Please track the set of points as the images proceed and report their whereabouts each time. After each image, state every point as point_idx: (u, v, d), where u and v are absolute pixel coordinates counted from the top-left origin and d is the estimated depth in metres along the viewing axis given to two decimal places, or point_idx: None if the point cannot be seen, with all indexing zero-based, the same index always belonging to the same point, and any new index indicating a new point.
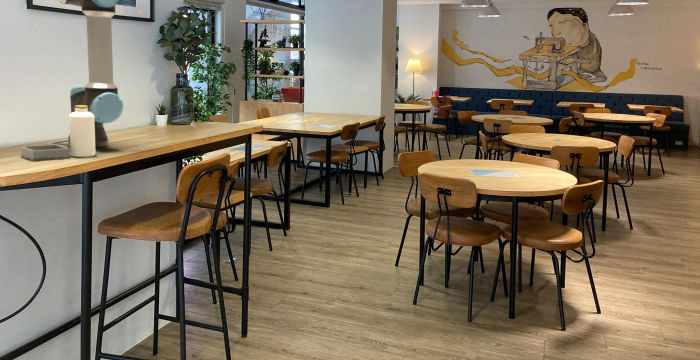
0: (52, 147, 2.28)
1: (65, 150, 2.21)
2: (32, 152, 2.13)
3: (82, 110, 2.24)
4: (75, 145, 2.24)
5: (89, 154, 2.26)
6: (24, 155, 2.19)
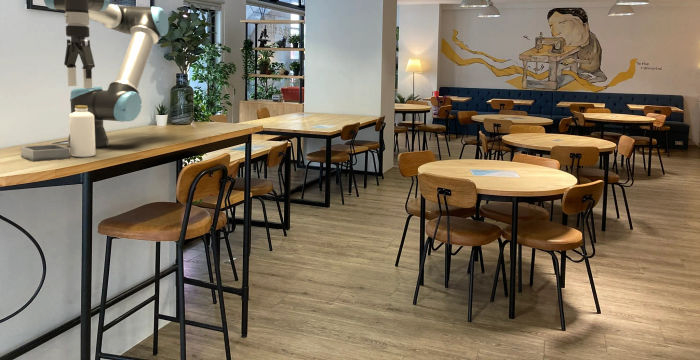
0: (52, 147, 2.28)
1: (65, 150, 2.21)
2: (32, 152, 2.13)
3: (82, 110, 2.24)
4: (75, 145, 2.24)
5: (89, 154, 2.26)
6: (24, 155, 2.19)
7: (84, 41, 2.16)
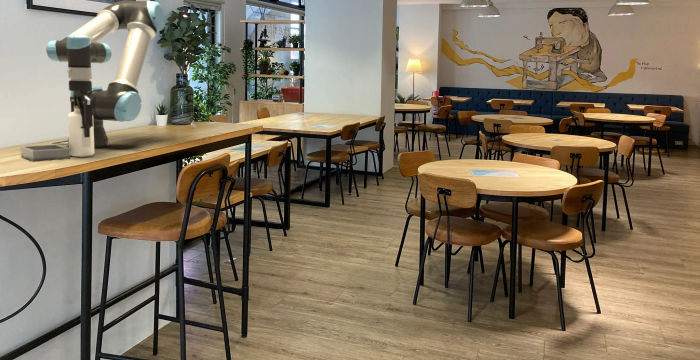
0: (52, 147, 2.28)
1: (65, 150, 2.21)
2: (32, 152, 2.13)
3: None
4: (74, 145, 2.24)
5: (88, 154, 2.26)
6: (24, 155, 2.19)
7: (87, 101, 2.19)
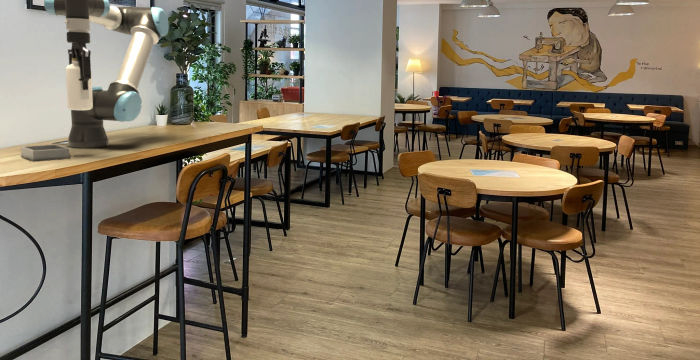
0: (52, 147, 2.28)
1: (65, 150, 2.21)
2: (32, 152, 2.13)
3: None
4: (72, 98, 2.21)
5: (86, 107, 2.24)
6: (24, 155, 2.19)
7: (85, 52, 2.17)
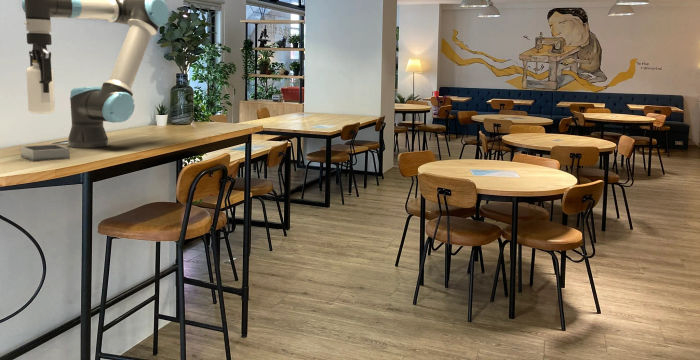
0: (52, 147, 2.28)
1: (65, 150, 2.21)
2: (32, 152, 2.13)
3: None
4: (32, 101, 2.15)
5: (47, 110, 2.17)
6: (24, 155, 2.19)
7: (45, 54, 2.10)
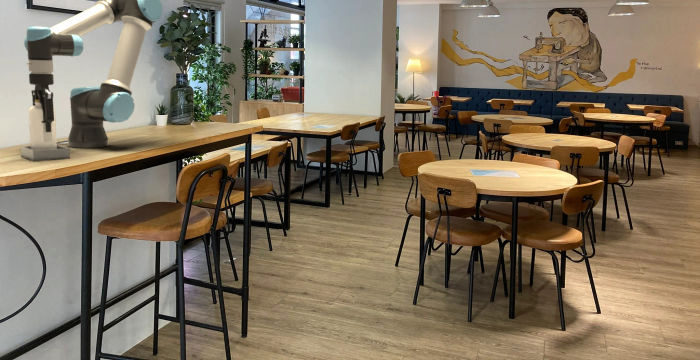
0: None
1: (65, 150, 2.21)
2: (32, 152, 2.13)
3: None
4: (35, 140, 2.18)
5: (50, 149, 2.20)
6: (24, 155, 2.19)
7: (47, 94, 2.13)
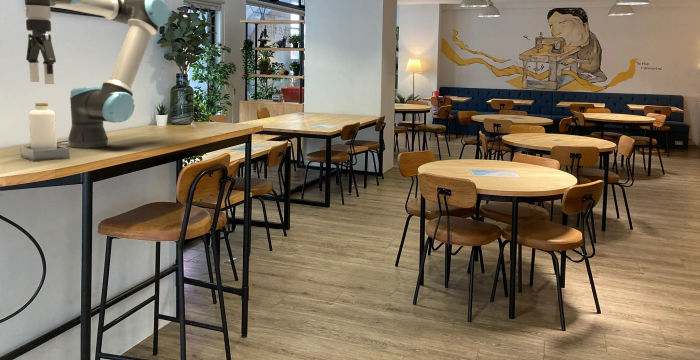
0: None
1: (65, 150, 2.21)
2: (32, 152, 2.13)
3: (42, 108, 2.18)
4: (35, 144, 2.18)
5: None
6: (24, 155, 2.19)
7: (44, 35, 2.09)
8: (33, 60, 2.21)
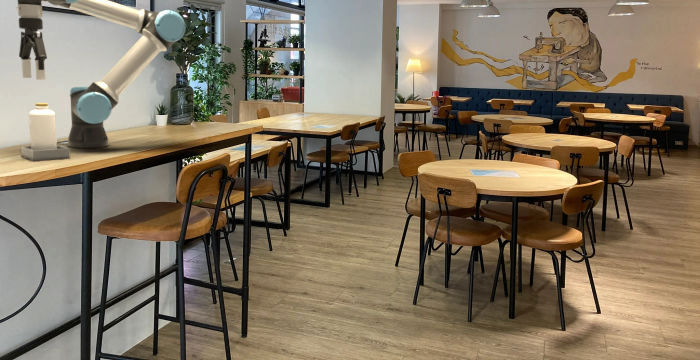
0: None
1: (65, 150, 2.21)
2: (32, 152, 2.13)
3: (42, 108, 2.18)
4: (35, 144, 2.18)
5: None
6: (24, 155, 2.19)
7: (36, 33, 2.19)
8: (25, 57, 2.31)
